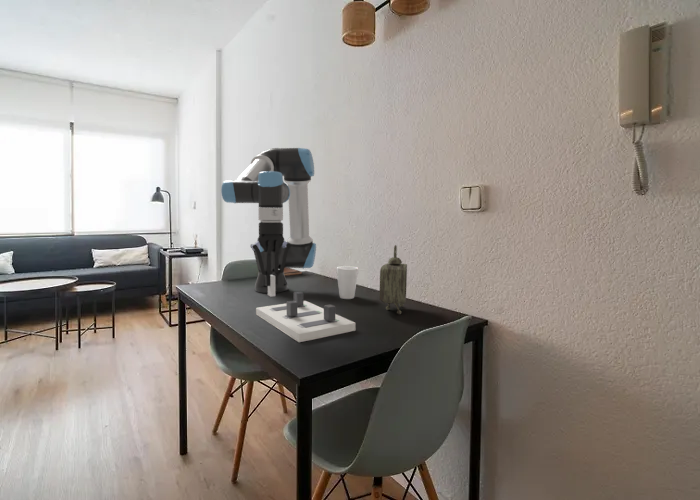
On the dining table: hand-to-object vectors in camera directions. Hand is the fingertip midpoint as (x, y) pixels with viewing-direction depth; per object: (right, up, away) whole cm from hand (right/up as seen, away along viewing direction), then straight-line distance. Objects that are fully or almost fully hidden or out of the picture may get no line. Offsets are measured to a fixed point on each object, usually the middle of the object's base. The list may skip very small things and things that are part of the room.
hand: (271, 295), depth 122 cm
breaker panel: (+9, -10, +8) cm, 15 cm away
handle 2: (+18, -8, +1) cm, 20 cm away
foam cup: (+24, -6, +44) cm, 51 cm away
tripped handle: (+6, -7, +5) cm, 11 cm away
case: (-16, 0, +103) cm, 104 cm away
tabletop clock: (+41, -9, +24) cm, 49 cm away
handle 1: (+6, -6, +19) cm, 20 cm away
